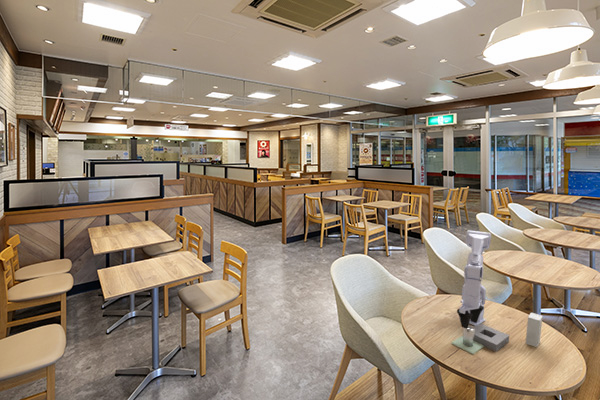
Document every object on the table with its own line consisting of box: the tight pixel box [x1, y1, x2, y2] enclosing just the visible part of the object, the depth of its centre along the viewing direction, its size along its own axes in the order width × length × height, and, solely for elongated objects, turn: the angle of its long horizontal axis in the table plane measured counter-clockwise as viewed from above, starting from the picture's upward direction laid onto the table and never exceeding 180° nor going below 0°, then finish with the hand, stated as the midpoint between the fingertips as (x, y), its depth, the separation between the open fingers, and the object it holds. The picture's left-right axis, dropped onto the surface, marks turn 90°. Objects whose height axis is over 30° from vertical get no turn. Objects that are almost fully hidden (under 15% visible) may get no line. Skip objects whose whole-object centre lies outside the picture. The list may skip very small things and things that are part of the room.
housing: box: [472, 323, 510, 352], centre depth 135 cm, size 12×12×3 cm
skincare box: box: [525, 312, 543, 348], centre depth 132 cm, size 6×4×12 cm
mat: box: [451, 334, 485, 355], centre depth 131 cm, size 9×9×1 cm
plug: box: [462, 325, 475, 347], centre depth 131 cm, size 4×4×7 cm
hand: (469, 324), depth 130 cm, fingers open, 7 cm apart
